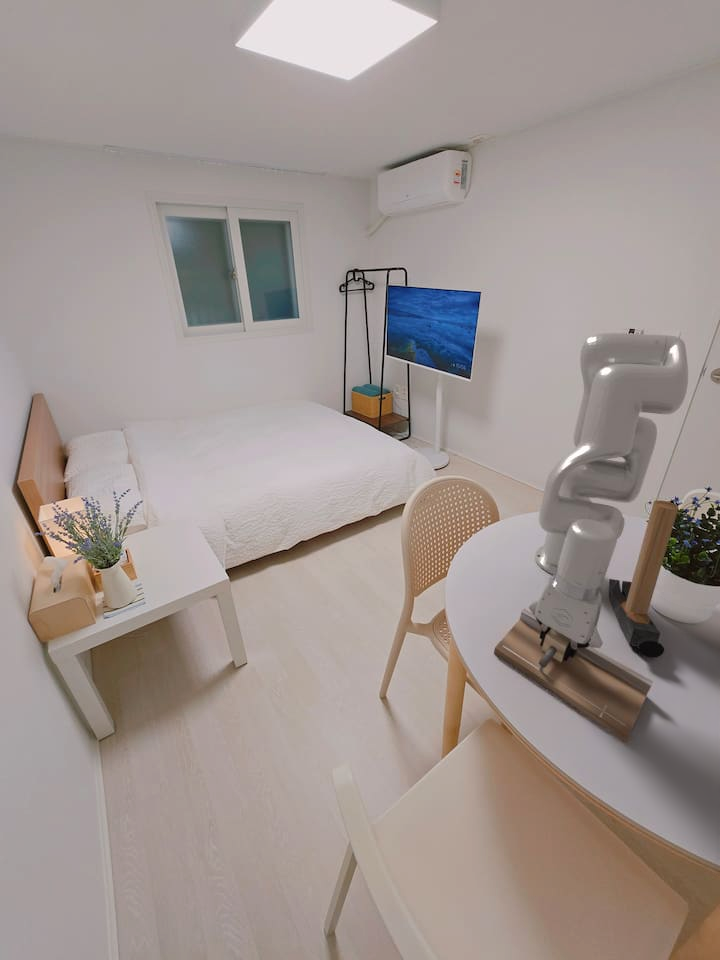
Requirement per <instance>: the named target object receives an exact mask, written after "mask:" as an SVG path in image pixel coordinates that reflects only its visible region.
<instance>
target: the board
mask: <svg viewBox="0 0 720 960" xmlns="http://www.w3.org/2000/svg"><path fill="white" fill-rule="evenodd" d="M540 634H541V629H540V624H539V622H538V621H537V619H536V617H535V615H534V614H533V613H532V612H531V611H529V610H527V609H525V608H523V609H522V610H521V612H520V617H519V619H518V620H517V622H515V624H514V625H513V626H512V628H511V629H510V630H509V631H507V633H506V634H505V635H504V637H503V638H501V640H499V642H498V643H497V644H496V646H495V647H494V650H493V654H494V655H496V656H497V657H499V658H500V659H501V660H503V661H504V662H506V663H508V665H510V666H512V667H513V668H514V669H516V670H518V671H520V672H521V673H523V674H524V675H526V676H527V677H529V679H532V680H533V681H534V682H535V683H537V684H539V685H540V686H541V687H543V688H545V689H546V690H548V691H549V692H551V693H552V694H554V695H555V696H556V697H558V698H560V700H563V701H564V702H566V703H567V704H568V705H570V706H572V707H573V708H574V709H576V710H578V711H579V712H580V713H582V714H584V715H585V716H586V717H587V718H589V719H591V720H592V721H594V722H595V723H597V724H598V725H600V726H601V727H602V728H604V729H606V730H607V731H608V732H610V733H612V734H613V735H614V736H616V737H617V738H619V739H620V740H622V741H624V742H625V743H626V742H627V740H628V739H629V736H630V735H631V732H632V731H633V727H634V725H635V723H636V720H637V719H638V716H639V714H640V711H641V710H642V707H643V705H644V702H645V701H646V698H647V696H648V693H649V691H650V689H651V687H652V685H653V684H654V681H653V680H652V679H650V678H648V677H646V676H644V675H642V674H641V673H639V672H637V671H635V670H634V669H632V668H630V667H628V666H626V665H625V664H623V663H622V662H619V661H618V660H616V659H614V658H613V657H610V656H609V655H607V654H606V653H603V652H602V651H600V650H598V648H592V647H586V648H577V651H576V654H575V655H574V657H573V658H572V657H569V658H568V660H567V661H565V660H564V659H563V660H562V662H560V661H558V660H556V659H555V658H553V657H552V659H551V660H550V662H549V663H548V664H547V666H546V667H545V668H543V671H540V670H539V669H540V665H539V661H540V660H541V658H542V657H543V656H544V654H545V652H543V651H542V646H541V645H540V643H541V640H542V639H540V638H539V637H540Z"/></svg>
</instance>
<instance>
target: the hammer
mask: <svg viewBox="0 0 720 960" xmlns="http://www.w3.org/2000/svg"><path fill="white" fill-rule="evenodd" d="M678 510H679V506H678V505H677V504H676V503H673V502H671V501H665V500H654V501H653V503H652V507H651V511H650V514H649V515H650V516H649V517H648V518H649V519H648V521H647V525H646V528H645V533H644V537H643V540H642V544H641V547H640V550H639V551H640V552H639V554H638V559H637V562H636V566H635V569H634V573H633V577H632V581H627V580H622V585H621V584H620V583H621V582H620V581H621V580H619V579H612V578H609V579H608V595H609V596H608V598H609V602H610V605H611V607H612V609H613V612H614V615H615V617H616V620H617V622H618V625H619V628H620V629H621V632H622V634H623V636H624V637H625V640H626V641H627V643H628V645H629V646H633V647H637V651H638V653H639V654H640V655H642V657H644V658H645V657H646V658H650V659H656V658H659V657H661V656H662V655H663V654H664V653H665V647H664V646H663V644H662V643H660V642H659V640H660V639H659V638H660V636H661V632H660V630H659V629H658V627H657V626H656V625H655V623H654V622H653V621H652V619H651V618H650V616H649V614H648V612H649V609H650V606H651V602H652V598H653V594H654V591H655V588H656V585H657V582H658V578H659V575H660V572H661V568H662V565H663V561H664V558H665V556H666V555H665V554H666V551H667V548H668V544H669V541H670V538H671V534H672V531H673V528H674V525H675V522H676V518H677V515H678Z"/></svg>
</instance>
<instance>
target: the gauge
mask: <svg viewBox="0 0 720 960" xmlns="http://www.w3.org/2000/svg"><path fill="white" fill-rule="evenodd" d="M570 641H571V639H570V638H568V637H566V636H564V635H563V634H561V633H559V632H557V631H556V630H554V629H552V628H551V629H550V631H549V632H548V633H547V634H546V636H545V640H544V643H543V647H542V651H543V652H545V654H544V656H543V657H542V658H541V660H540V661H539V665H540V669H539V670H540V671H543V668H545V667H546V666H547V664H548V663H549V662H550V660H551V659H552V657H553V658H555V659H556V660H558V661H560V662H562V660H563V657H564V654H565V651H566V648H567V646H568V644H569V643H570Z"/></svg>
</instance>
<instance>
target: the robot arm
mask: <svg viewBox="0 0 720 960" xmlns="http://www.w3.org/2000/svg"><path fill="white" fill-rule="evenodd" d="M687 357H688V356H687V349H686V344H685V342H684V340H683V339H682V338H680V337H678V336H674V335H667V334H666V335H665V334H645V333H642V334H641V333H623V332H621V333H620V332H603V333H597V334H592V335H590V336H589V337H587V338H586V339H585V340H584V341H583V343H582V346H581V351H580V357H579V358H580V360H579V361H580V365H579V366H580V371H581V376H582V382H583V392H582V393H583V394H582V399H581V402H580V403H581V404H580V408H579V410H578V415H577V420H576V425H575V428H574V434H573V444H574V447H575V448H574V449H573V450H571V451H570V452H568V453H567V454H566V455H564V456H563V457H562V458H560V460H559V461H557V463H556V464H555V465H554V467H553V468H552V469H551V470H550V471H549V474H548V476H547V479H546V482H545V486H544V489H543V495H542V498H541V502H540V503H541V504H540V506H539V507H540V508H539V512H538V522H539V523H538V524H539V526H540V527H541V529H542V530H543V531H544V532H546V535H545V540H544V542H543V545H542V546H541V547H538V549H536V552H535V554H534V559H535V562H536V563H537V564H538V566H539V567H541V569H543V570H544V571H546V572H547V573H549V574H551V575H552V576H551V577H549V579H548V580H547V581H546V584H545V585H544V588H543V589H542V593H541V595H540V597H539V600H536V601H534V602H532V603H531V604H529V606H528V609H529V610H530V612H531V613H533V614H534V615H535V617H536V619H537V621H538V622H539V624H540V629H541V634H540V637H539V638H540V639H542V640H541V643H540V645H541V646H542V647H543V643H544V640H545V636H546V634H547V633H548V632H549V631H550V629H551V628H552V629H554V630H556V631H557V632H559V633H561V634H563V635H564V636H566V637H568V638H570V639H571V641H570V643H569V644H568V646H567V648H566V651H565V654H564V657H563V659H564V660H565V661H567V660H568V658H569V657H572V658H573V657H574V655H575V654H576V651H577V648H586V647H592V648H595V649H601V647H602V645H603V639H602V638H601V636H600V633H599V631H598V623H599V619H600V615H601V611H602V598H603V597H602V593H601V592H600V591H601V588H602V585H603V583H604V579H605V577H606V574H607V571H608V568H609V566H610V563H611V560H612V557H613V555H614V552H615V549H616V545H617V542H618V539H619V538H620V537H621V536H622V534H623V531H624V528H625V522H626V521H625V518H624V517H623V516H624V515H623V513H622V511H621V510H620V509H618V508H617V507H615V506H612V505H609V504H603V503H598V502H592V500H591V499H598V500H605V501H610V502H616V503H622V504H628V503H632V502H634V501H635V500H636V499H637V498H638V496H639V495H640V492H641V490H642V486H643V485H644V481H645V478H646V475H647V472H648V469H649V465H650V462H651V459H652V455H653V454H654V450H655V447H656V443H657V438H658V428H657V425H656V423H655V421H653V420H652V419H651V418H648V417H645V416H640V413H647V414H656V415H671V414H674V413H675V412H677V411H678V410H679V409H680V408H681V406H682V405H683V403H684V400H685V398H686V395H687V391H688V386H689V366H688V365H689V364H688V358H687ZM616 458H622V459H624V461H619V460H612V459H616ZM610 459H611V460H610Z"/></svg>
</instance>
